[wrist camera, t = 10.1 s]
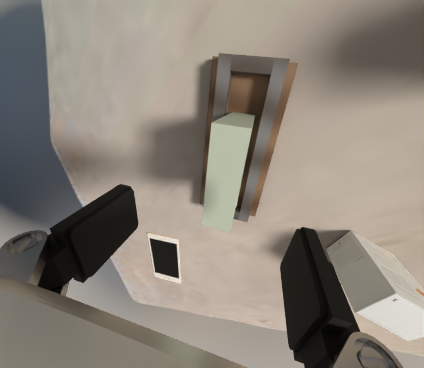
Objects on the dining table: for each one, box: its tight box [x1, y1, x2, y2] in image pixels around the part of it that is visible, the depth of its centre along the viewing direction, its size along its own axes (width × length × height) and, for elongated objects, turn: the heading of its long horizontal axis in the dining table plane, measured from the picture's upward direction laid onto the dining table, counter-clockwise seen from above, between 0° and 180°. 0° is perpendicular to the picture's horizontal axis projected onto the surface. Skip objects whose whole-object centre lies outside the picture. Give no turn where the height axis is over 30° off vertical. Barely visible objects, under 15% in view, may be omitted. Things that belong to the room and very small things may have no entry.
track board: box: [200, 53, 298, 222], centre depth 25 cm, size 22×10×3 cm, turn 174°
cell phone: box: [147, 233, 181, 283], centre depth 43 cm, size 8×16×1 cm, turn 177°
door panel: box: [202, 112, 255, 232], centre depth 20 cm, size 10×3×12 cm, turn 174°
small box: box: [326, 231, 424, 341], centre depth 25 cm, size 8×6×10 cm
